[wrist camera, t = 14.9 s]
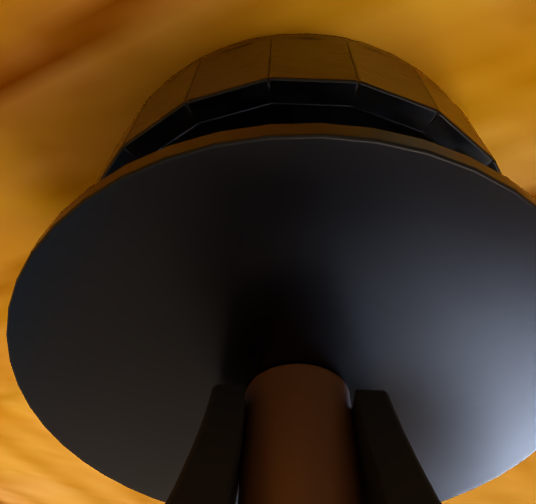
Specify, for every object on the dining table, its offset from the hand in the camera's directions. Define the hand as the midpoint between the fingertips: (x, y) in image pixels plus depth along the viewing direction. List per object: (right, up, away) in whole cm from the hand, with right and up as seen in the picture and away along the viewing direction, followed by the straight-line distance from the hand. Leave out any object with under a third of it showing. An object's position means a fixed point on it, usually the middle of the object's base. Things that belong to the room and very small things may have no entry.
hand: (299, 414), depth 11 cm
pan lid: (0, +1, +1) cm, 1 cm away
